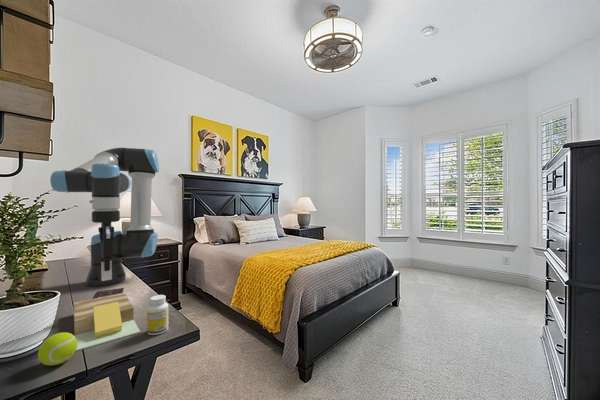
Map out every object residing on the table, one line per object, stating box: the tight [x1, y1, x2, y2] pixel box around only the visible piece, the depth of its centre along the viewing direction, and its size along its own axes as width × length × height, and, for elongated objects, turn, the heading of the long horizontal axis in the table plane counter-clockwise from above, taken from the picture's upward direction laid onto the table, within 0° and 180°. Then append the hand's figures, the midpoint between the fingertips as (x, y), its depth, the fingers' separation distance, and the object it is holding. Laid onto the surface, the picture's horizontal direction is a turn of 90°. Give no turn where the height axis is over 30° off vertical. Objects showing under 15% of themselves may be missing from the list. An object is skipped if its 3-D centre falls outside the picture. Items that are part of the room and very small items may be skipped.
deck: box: [73, 292, 134, 336], centre depth 84 cm, size 18×14×4 cm
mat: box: [74, 319, 141, 352], centre depth 73 cm, size 10×14×1 cm
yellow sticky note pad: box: [93, 302, 122, 338], centre depth 75 cm, size 9×6×2 cm, turn 42°
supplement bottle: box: [146, 294, 170, 336], centre depth 75 cm, size 5×5×10 cm
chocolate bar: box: [92, 287, 125, 299], centre depth 101 cm, size 9×1×18 cm
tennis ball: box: [37, 331, 78, 367], centre depth 60 cm, size 7×7×7 cm
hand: (106, 279), depth 87 cm, fingers closed
